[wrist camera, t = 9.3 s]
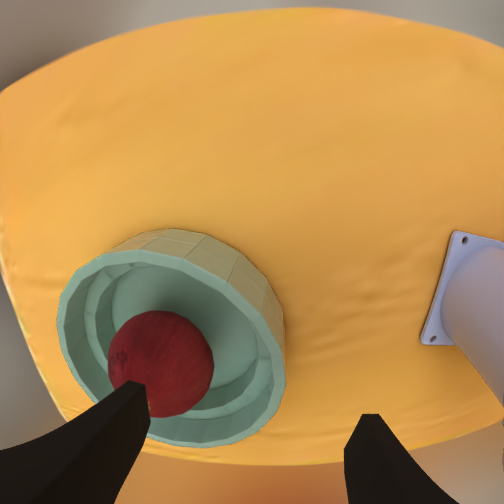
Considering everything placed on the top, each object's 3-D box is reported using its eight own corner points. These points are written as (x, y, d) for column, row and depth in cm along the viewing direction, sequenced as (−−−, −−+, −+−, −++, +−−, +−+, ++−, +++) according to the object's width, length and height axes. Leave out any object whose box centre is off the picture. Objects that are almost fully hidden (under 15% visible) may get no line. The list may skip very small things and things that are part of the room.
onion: (150, 362, 20) (101, 442, 12) (130, 289, 18) (57, 357, 10) (229, 366, 19) (204, 462, 11) (217, 287, 17) (176, 373, 10)
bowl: (270, 212, 16) (266, 232, 12) (292, 395, 20) (293, 448, 15) (77, 242, 18) (29, 265, 13) (131, 395, 22) (107, 435, 17)
